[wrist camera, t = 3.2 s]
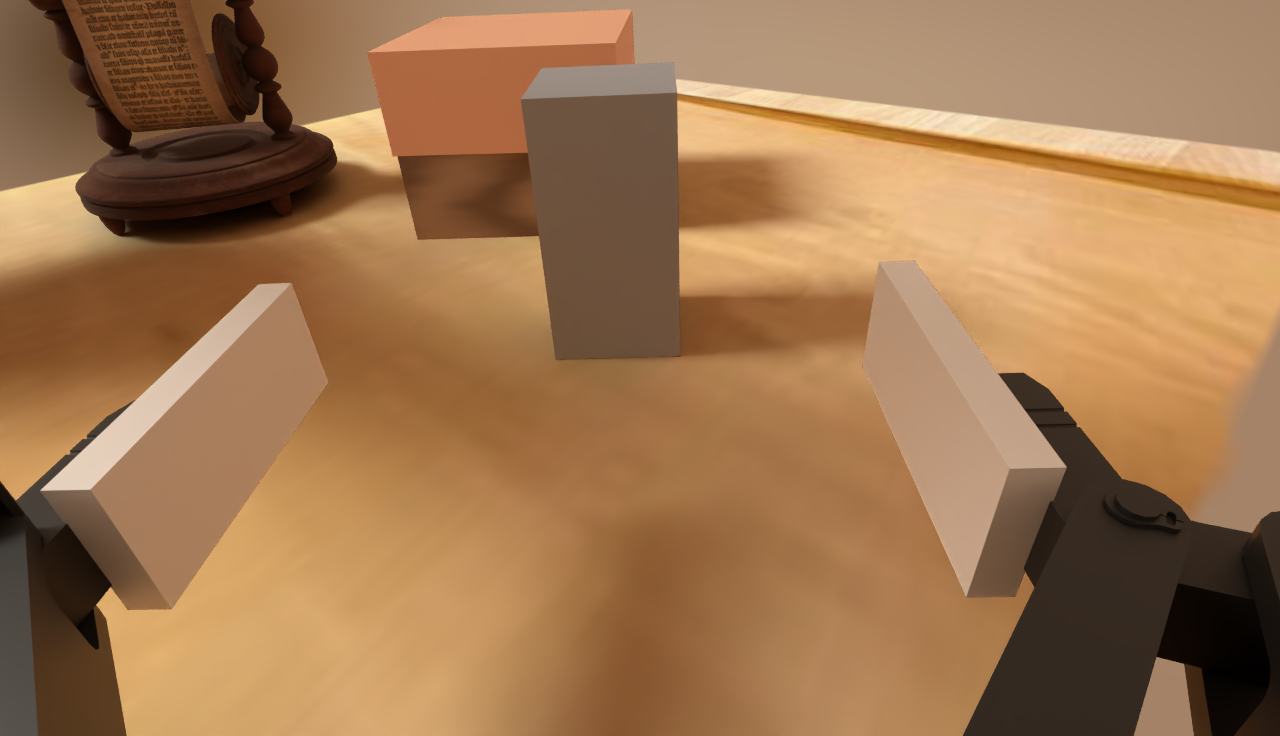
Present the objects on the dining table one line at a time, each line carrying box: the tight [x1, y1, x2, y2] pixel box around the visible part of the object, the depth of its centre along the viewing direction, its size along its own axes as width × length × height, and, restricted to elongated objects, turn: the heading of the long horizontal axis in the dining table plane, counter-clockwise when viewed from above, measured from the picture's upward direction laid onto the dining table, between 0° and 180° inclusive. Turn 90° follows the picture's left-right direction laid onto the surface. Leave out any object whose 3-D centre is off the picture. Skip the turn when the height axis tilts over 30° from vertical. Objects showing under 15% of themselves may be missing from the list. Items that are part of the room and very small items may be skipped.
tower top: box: [368, 9, 635, 156], centre depth 39 cm, size 12×12×5 cm
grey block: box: [521, 62, 680, 360], centre depth 27 cm, size 5×5×10 cm
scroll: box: [29, 0, 337, 235], centre depth 40 cm, size 15×15×20 cm
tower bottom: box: [398, 153, 539, 240], centre depth 42 cm, size 12×12×5 cm
